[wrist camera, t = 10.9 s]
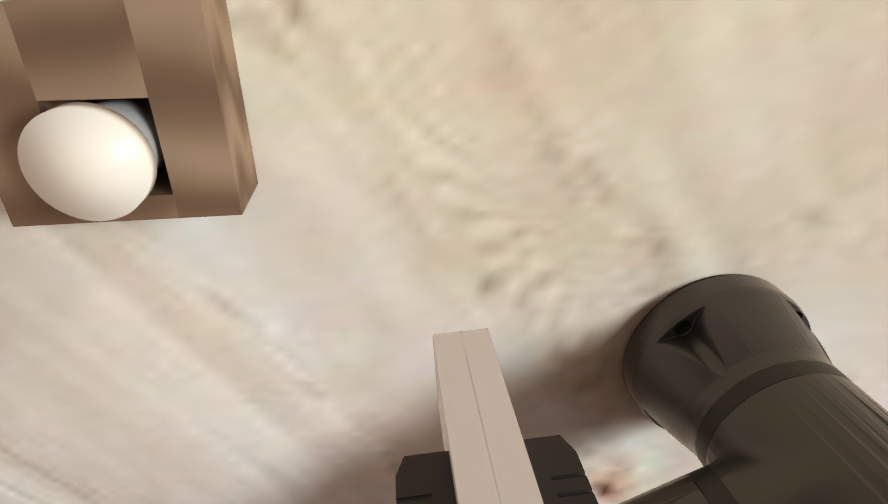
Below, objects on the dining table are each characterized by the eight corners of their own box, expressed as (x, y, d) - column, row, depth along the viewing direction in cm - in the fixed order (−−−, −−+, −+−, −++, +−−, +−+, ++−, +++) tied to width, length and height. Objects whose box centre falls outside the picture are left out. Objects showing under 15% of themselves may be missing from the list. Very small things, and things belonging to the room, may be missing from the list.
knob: (199, 171, 33) (161, 218, 27) (103, 175, 33) (42, 224, 27) (177, 77, 31) (130, 106, 24) (72, 80, 30) (-3, 110, 24)
